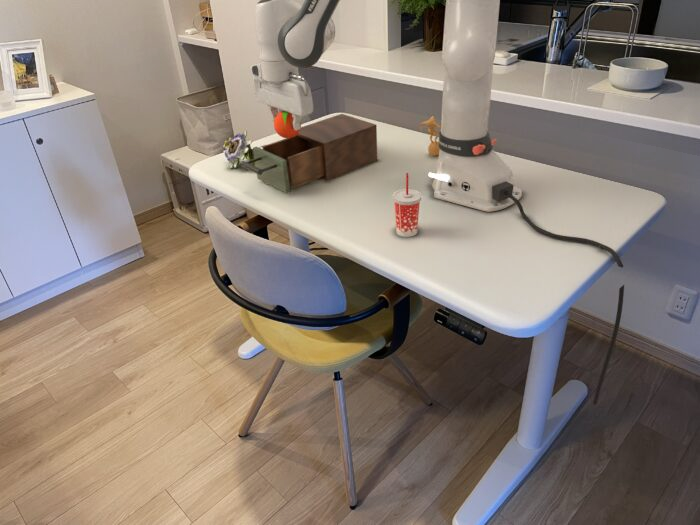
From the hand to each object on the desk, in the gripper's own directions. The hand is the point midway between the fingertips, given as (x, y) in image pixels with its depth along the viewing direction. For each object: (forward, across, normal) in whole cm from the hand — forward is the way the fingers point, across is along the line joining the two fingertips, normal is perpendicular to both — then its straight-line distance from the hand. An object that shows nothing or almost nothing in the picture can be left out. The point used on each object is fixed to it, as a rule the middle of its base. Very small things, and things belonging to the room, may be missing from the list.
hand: (286, 125), depth 139 cm
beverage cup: (+15, -41, -1) cm, 44 cm away
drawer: (+14, 0, +1) cm, 14 cm away
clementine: (+3, 0, 0) cm, 3 cm away
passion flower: (+15, +19, +3) cm, 25 cm away
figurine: (+15, -17, -37) cm, 44 cm away
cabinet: (+15, 0, -15) cm, 22 cm away
